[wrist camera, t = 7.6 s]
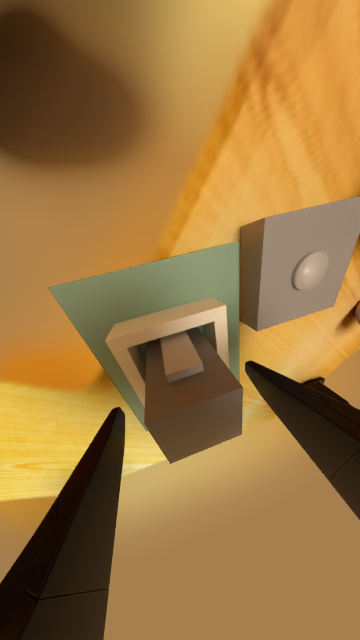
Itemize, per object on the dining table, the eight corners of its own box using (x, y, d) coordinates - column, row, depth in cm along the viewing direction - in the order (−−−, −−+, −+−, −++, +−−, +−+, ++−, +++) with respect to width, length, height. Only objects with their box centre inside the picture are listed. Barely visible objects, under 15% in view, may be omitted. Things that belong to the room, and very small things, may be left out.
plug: (200, 357, 14) (241, 434, 8) (160, 370, 13) (170, 463, 7) (193, 316, 12) (242, 378, 5) (144, 330, 11) (138, 416, 5)
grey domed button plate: (307, 299, 15) (338, 307, 13) (240, 320, 15) (259, 333, 12) (330, 206, 11) (383, 190, 9) (240, 227, 11) (270, 215, 8)
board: (234, 389, 20) (251, 414, 17) (146, 421, 18) (146, 456, 15) (230, 243, 11) (265, 235, 8) (59, 284, 9) (11, 296, 6)
